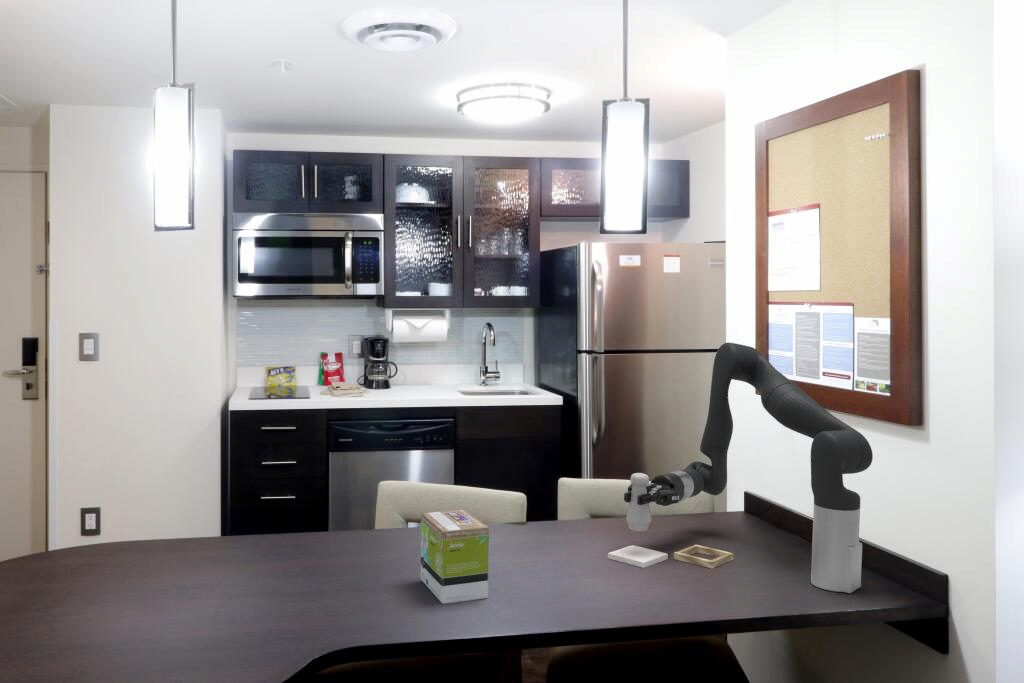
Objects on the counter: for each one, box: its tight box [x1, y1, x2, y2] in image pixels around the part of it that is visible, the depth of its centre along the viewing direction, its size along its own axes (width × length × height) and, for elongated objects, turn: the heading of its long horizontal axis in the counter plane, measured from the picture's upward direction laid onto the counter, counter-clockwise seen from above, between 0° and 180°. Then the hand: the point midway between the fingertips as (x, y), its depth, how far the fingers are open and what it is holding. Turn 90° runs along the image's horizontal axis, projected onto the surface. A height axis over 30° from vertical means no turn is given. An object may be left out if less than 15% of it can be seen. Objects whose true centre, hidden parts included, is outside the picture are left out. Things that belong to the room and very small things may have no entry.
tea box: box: [420, 509, 490, 605], centre depth 166 cm, size 15×10×15 cm, turn 23°
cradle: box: [673, 544, 734, 570], centre depth 191 cm, size 10×10×2 cm
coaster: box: [607, 544, 669, 569], centre depth 191 cm, size 10×10×1 cm
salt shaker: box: [625, 472, 652, 532], centre depth 190 cm, size 6×6×13 cm
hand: (632, 499), depth 188 cm, fingers closed on salt shaker, 3 cm apart
